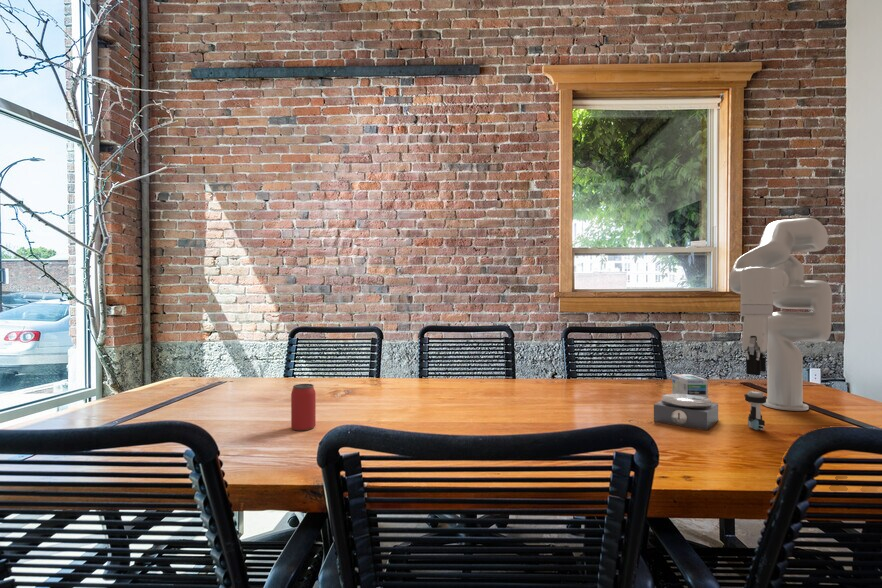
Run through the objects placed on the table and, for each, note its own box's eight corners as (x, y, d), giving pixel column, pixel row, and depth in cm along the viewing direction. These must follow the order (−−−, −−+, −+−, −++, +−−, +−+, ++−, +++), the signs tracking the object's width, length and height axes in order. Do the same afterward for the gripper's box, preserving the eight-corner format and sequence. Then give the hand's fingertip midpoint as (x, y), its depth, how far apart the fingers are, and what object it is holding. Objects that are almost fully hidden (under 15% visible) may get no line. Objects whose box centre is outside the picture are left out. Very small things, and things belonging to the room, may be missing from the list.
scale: (667, 412, 149) (668, 396, 149) (718, 420, 140) (718, 403, 140) (653, 421, 138) (653, 404, 138) (706, 430, 129) (706, 412, 129)
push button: (773, 432, 127) (773, 395, 127) (752, 431, 128) (752, 395, 128) (760, 425, 134) (760, 390, 134) (740, 424, 135) (740, 390, 135)
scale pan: (669, 395, 149) (669, 392, 149) (715, 402, 140) (715, 398, 140) (656, 403, 139) (656, 398, 139) (705, 410, 130) (705, 405, 130)
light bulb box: (708, 413, 148) (708, 379, 148) (687, 413, 148) (687, 379, 148) (691, 405, 159) (691, 373, 159) (671, 405, 159) (671, 373, 159)
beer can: (320, 427, 133) (320, 385, 133) (299, 433, 128) (298, 388, 128) (307, 423, 137) (307, 382, 137) (286, 428, 132) (286, 385, 132)
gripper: (746, 310, 140) (745, 368, 140) (734, 311, 127) (734, 374, 127) (776, 311, 135) (776, 371, 135) (768, 311, 122) (768, 378, 122)
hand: (756, 372), depth 131 cm, fingers open, 9 cm apart
